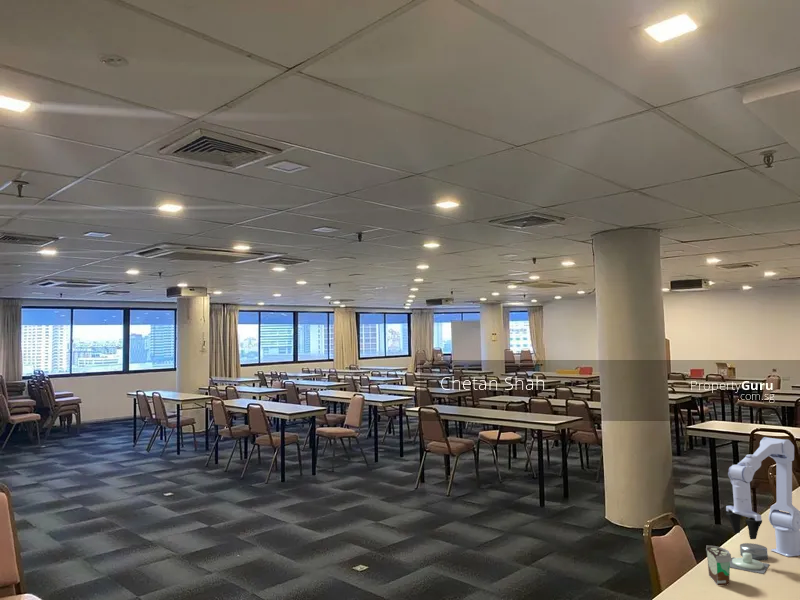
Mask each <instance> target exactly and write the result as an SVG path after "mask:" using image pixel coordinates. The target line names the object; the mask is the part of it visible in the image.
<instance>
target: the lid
mask: <svg viewBox="0 0 800 600" xmlns="http://www.w3.org/2000/svg"><path fill="white" fill-rule="evenodd" d="M742 555H743V557H734V559H732V564H733V565H735V566H737V567H739V568H743V569H749V570H761V569H763V568H764V564H763V563H764V562H762V561H761V560H754V559H752V554H751V553H742Z"/></svg>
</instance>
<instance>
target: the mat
mask: <svg viewBox="0 0 800 600" xmlns="http://www.w3.org/2000/svg"><path fill="white" fill-rule="evenodd" d="M731 558H732V559H734V558H735V557H734V556H731ZM762 563H763V564H764V568H763V569H761V570H749V569H743V568H739V567H737V566H735V565H733V564H732V560H731V561H730V569H735V570H740V571H744V572H745V571H746V572H751V573H755V574H761V575H765V572H766V571H767V570H768V568H769V566H770V563H766V562H762Z"/></svg>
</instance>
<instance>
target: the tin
mask: <svg viewBox="0 0 800 600" xmlns="http://www.w3.org/2000/svg"><path fill="white" fill-rule="evenodd" d="M739 551H740V557H741V558H743V555H742V553H751V554H752V559H754V560H757V561H767V560H768V557H769V555H768V548H767V546H764V545H761V544H758V543H751V542H749V543H748V542H745V543H741V544H740V545H739Z"/></svg>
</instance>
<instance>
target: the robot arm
mask: <svg viewBox="0 0 800 600" xmlns="http://www.w3.org/2000/svg"><path fill="white" fill-rule="evenodd" d="M768 457H769V458H771V459H773V460H774V462H775V463H776V470H775V471H776V475H775V477H776V480H775V481H776V486H775V487H776V490H775V491H776V502H775V503H774V504H772V505H770V507H769V513H768V522H769V523H770V525H772V528H773V529H774V530H775V531H774V535H775V545H776V546H775V547H776V548H771V549H770V551H771V552H774V553H777V554H780V555H782V556H784V557H788V558H790V557H798V556H800V510H799V509H798V508H797V507H796V506H795V505H793V461H794V460H795V445H794V444H793V442H792V441H791V440H790V439H784V438H783V439H781V438H775V437H773V438H772V437H767V436H764V437H762V438H761V440H760V442H759V446H758V448H757V449H756V450H755V451H754V452H753V454H751V453H750V454H746V455H745V457H743V459H741V460H740V461H739V462H737V464H732V465H731V466H729V468H728V472H727V476H728V478H729V479H730V483H731V485H732V494H733V495H732V497H733V505H726V506H725V511H726V513H725V515H726V517H727V519H728V521H729V522H730V525H731V528H732V531H733V534H740V532H741V519H742V517H746V518H747V519H746V518H745V519H744V521H745V523H746V525H747V529H748V534H749V536H748V537H749V538H750V539H749V540H757V536H758V533H759V532H758V531H759V529H760V527H761V525H762V523H763V519H762V514H759V513H757V512H755V511H753V510H752V509H753V508H752V506H753V505H752V496H751V495H752V494H751V482H752V481H753V478H754V475H755V473H756V471H758V470H759V469H761V467H762V462H763V460H766V458H768Z"/></svg>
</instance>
